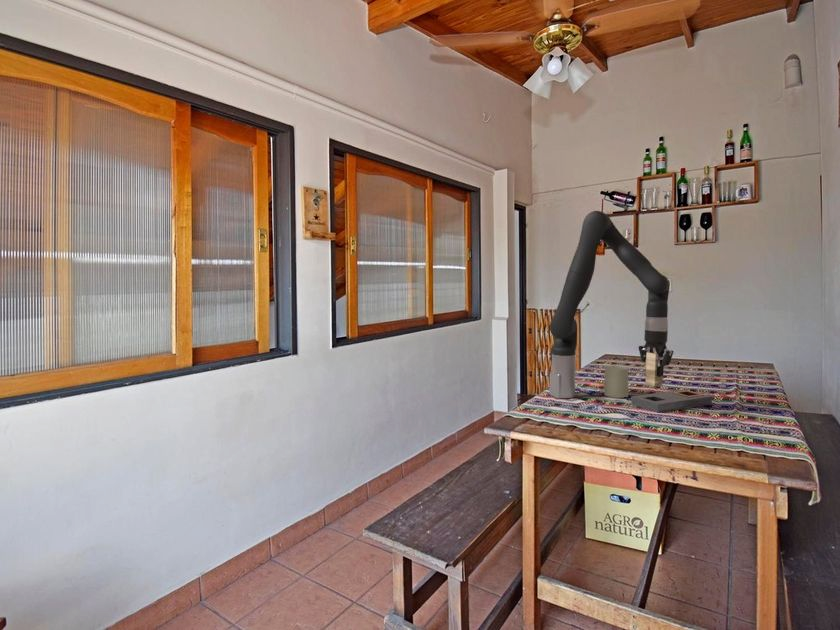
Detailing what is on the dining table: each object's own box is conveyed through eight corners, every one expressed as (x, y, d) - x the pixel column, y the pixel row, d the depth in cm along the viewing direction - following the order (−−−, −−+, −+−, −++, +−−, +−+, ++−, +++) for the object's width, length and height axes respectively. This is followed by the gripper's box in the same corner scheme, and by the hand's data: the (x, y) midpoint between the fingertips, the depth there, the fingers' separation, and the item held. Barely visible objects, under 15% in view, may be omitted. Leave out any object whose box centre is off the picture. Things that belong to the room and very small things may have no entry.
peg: (654, 386, 168) (655, 354, 167) (645, 384, 172) (646, 352, 171) (662, 385, 169) (663, 353, 168) (653, 383, 173) (654, 351, 172)
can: (623, 392, 193) (624, 364, 192) (631, 398, 184) (632, 368, 183) (601, 392, 194) (601, 364, 193) (607, 397, 185) (608, 368, 184)
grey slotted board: (657, 412, 164) (657, 403, 163) (631, 404, 175) (631, 396, 175) (711, 404, 173) (712, 395, 173) (683, 396, 184) (683, 388, 184)
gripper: (633, 327, 174) (631, 372, 176) (664, 331, 161) (663, 380, 162) (648, 326, 177) (646, 370, 178) (680, 330, 163) (678, 378, 165)
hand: (654, 374), depth 170 cm, fingers closed on peg, 4 cm apart
